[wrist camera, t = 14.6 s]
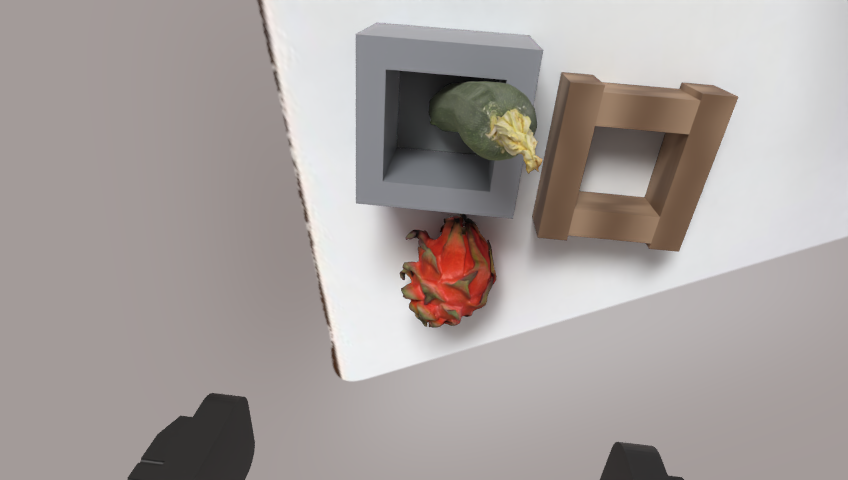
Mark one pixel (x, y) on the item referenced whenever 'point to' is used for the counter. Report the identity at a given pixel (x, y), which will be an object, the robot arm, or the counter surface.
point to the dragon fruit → (449, 273)
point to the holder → (424, 169)
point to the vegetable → (488, 119)
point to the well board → (673, 173)
